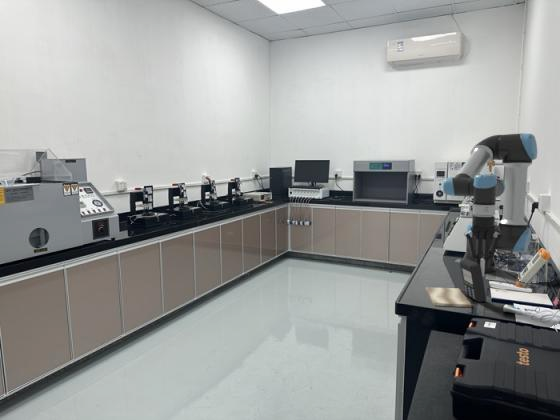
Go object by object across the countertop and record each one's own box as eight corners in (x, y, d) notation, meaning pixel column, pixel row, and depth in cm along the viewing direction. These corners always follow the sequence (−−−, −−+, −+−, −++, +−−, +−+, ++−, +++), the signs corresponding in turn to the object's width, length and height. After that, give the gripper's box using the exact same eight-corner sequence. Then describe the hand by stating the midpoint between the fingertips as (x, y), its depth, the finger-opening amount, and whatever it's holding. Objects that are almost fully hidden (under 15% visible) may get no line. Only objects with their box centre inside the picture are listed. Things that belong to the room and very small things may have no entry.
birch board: (458, 290, 161) (458, 288, 160) (471, 307, 143) (471, 304, 143) (425, 289, 163) (425, 287, 163) (434, 305, 145) (434, 303, 145)
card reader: (464, 295, 155) (457, 260, 153) (473, 292, 156) (467, 257, 153) (477, 303, 146) (471, 266, 144) (487, 300, 147) (481, 263, 144)
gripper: (468, 216, 144) (465, 278, 147) (506, 216, 142) (502, 279, 145) (462, 213, 151) (460, 272, 154) (498, 213, 149) (495, 273, 152)
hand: (480, 275), depth 149 cm, fingers closed
